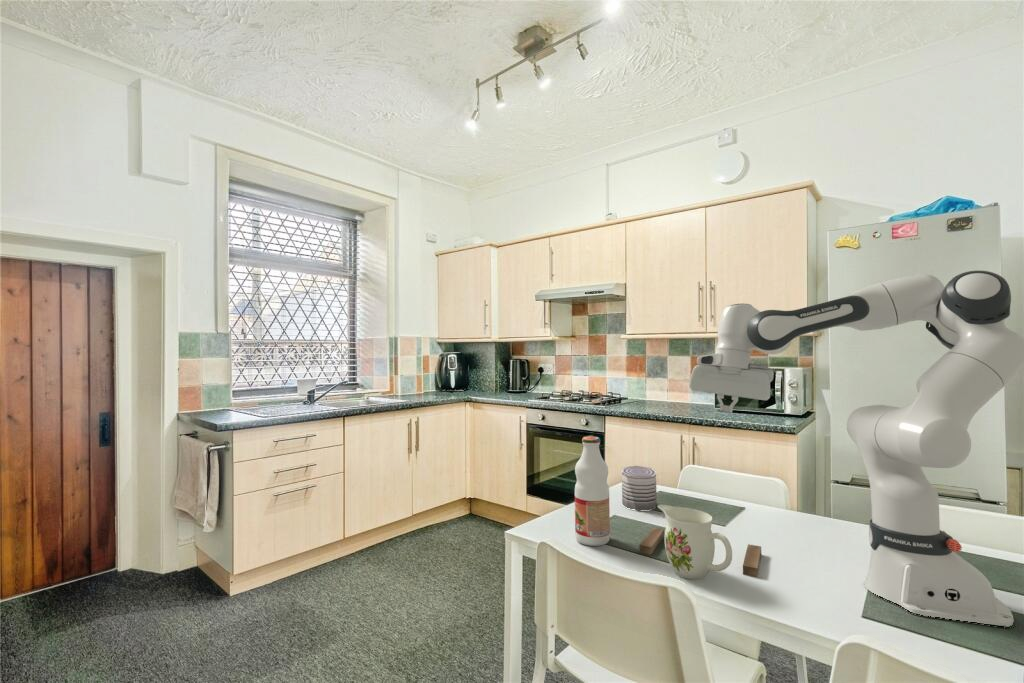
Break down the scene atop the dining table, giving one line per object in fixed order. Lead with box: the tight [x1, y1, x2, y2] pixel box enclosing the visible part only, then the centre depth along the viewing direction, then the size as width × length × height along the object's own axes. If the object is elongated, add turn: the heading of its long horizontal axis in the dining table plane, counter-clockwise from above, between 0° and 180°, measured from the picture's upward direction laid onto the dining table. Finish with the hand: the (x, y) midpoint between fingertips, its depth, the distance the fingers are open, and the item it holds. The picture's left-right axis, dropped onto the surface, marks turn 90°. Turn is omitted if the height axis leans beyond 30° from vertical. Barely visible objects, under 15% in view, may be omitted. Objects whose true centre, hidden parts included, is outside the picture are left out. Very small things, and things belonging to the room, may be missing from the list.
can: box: [620, 465, 658, 510], centre depth 159 cm, size 11×11×12 cm
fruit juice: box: [574, 435, 611, 547], centre depth 130 cm, size 9×9×28 cm
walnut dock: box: [638, 527, 762, 578], centre depth 121 cm, size 27×14×2 cm, turn 59°
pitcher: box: [657, 504, 733, 580], centre depth 110 cm, size 11×18×14 cm, turn 40°
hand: (725, 412), depth 129 cm, fingers closed
